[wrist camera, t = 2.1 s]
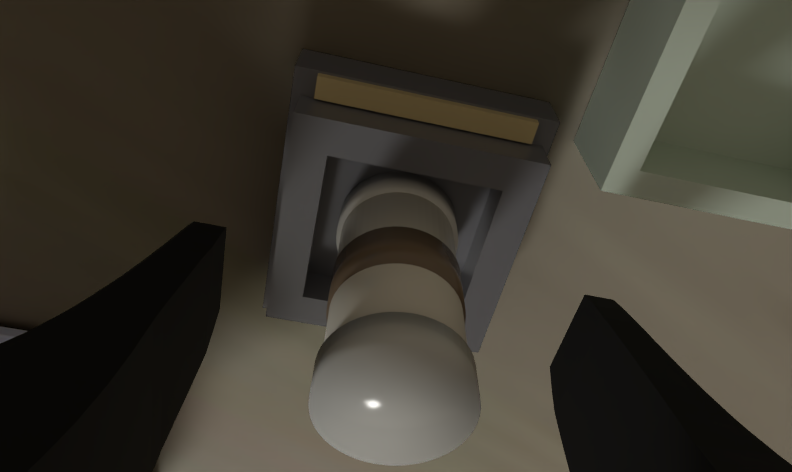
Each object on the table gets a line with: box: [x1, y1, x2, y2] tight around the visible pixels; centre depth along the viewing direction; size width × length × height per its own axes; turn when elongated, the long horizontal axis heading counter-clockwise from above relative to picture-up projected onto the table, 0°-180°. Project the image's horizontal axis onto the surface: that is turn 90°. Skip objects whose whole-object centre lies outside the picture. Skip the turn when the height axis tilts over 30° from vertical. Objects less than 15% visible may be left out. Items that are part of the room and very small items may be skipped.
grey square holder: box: [263, 49, 560, 352], centre depth 15 cm, size 7×6×2 cm
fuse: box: [308, 171, 481, 466], centre depth 13 cm, size 3×3×6 cm
